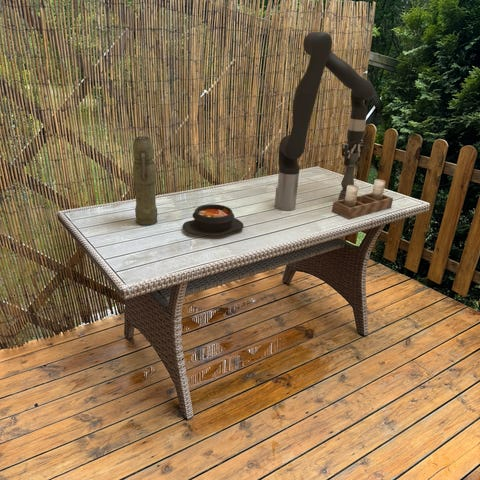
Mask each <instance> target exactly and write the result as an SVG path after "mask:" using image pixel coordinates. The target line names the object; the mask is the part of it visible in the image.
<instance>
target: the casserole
mask: <svg viewBox="0 0 480 480" xmlns="http://www.w3.org/2000/svg"><path fill="white" fill-rule="evenodd" d="M192 218H193V219H192V220H187V221H184V223H183V224H182V229H183V230H184V231H185V232H186V233H189V234H194V235H206V236H223V235H227V234H230V233H232V232H235V231H239V230H242V229H244V223H243V222H242V221H241V220H239V219H237V218H235V214H234V212H233V210H232V209H231V207H229V206H226V205H222V204H214V203H213V204H212V203H211V204H203V205H200V206H197V207H196V208H195V210H194V211H193V213H192Z"/></svg>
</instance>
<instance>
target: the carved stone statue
mask: <svg viewBox="0 0 480 480" xmlns="http://www.w3.org/2000/svg"><path fill="white" fill-rule="evenodd" d="M132 156H133V157H132V158H133V159H134V160H133V166H132V180H133V183H134V189H135V190H134V191H135V193H134V194H135V208H134V211H135V219H136V220H135V222H136V224H137V225H139V226H142V227H145V226H146V227H148V226H154V225H156V224H157V223H158V208H157V202H156V201H157V200H156V182H157V180H156V179H157V177H156V176H157V175H156V172H157V171H156V166H155V163H154V146H153V143H152V140H151V138H150V137H147V136H137V137H135V138H134V140H133V143H132Z"/></svg>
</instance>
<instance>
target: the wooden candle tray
mask: <svg viewBox="0 0 480 480" xmlns="http://www.w3.org/2000/svg"><path fill="white" fill-rule="evenodd" d="M386 182H387V181H386V180H384V179H380V178H377V179H374V182H373V186H372V192H369V193H365V194H361V195H358V191H359V186H357V185H355V184H354V185H348V186H347V190H346V196H345V199H343V200H338V199H337V200H335V201H333V202H332V208H331V212H332V213H334V214H336V215H338V216H341V217H342V218H344V219H347V220H352V219H355V218H359V217H362V216H367V215H371V214H374V213H377V212H381V211H385V210H389V209H391V208H392V205H393V201H394V198H393V197H391V196H388V195H386V194H384V191H385V187H386V186H385V185H386Z"/></svg>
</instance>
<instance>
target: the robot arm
mask: <svg viewBox="0 0 480 480" xmlns="http://www.w3.org/2000/svg"><path fill="white" fill-rule="evenodd" d="M302 46H303V49H304V52H305V54H307V55H308V56H310V58H309V62H308V65H307V69H306V71H305V72H304V74H303V76H302V78H301V79H300V81H299V82H298V85H297V86H296V89H295V92H294V95H293V100H292V109H291V111H292V125H291V131H290V133H289V134H287V135H284V136H283V137H282V138H281V140H280V141H279V146H278V161H277V163H278V176H277V177H278V179H277V187H275V196H274V197H275V199H274V208H276V209H278V210H280V211H286V212H287V211H293V210H295V209H296V205H297V197H298V196H297V195H298V186H299V176H300V169H301V168H300V165H299V162H298V159H299V158H302V157H301V156H302V155H303V154H304V152H305V149H306V143H307V137H308V131H309V126H310V122H311V120H312V119H311V118H312V115H313V112H314V108H315V105H316V100H317V99H318V98H317V97H318V92H319V88H320V84H321V82H322V79H323V74H324V70H325V68H326V69H328V70H329V71H330V72H331V73H332V74H333V76H335V78H337V79H338V80H339V82H341V83H342V84H343V86H345V88H348V89H350V102H351V111H350V116H349V117H350V118H349V121H348V122H349V123H348V128H347V133H346V139H347V142H346V143H342V144H341V157H344V161H343V165H344V166H345V165H346V166H348V165H349V159H350V158H349V157H350V155H351V154H352V153H353V151H355V152H359V155H358V160H357V161H356V163H355V164H356V165H358V162H359V157H360V156H362V155H364V154H363V153H364V151H365V147H366V142H365V141H363V139H364V135H365V131H366V126H367V125H366V124H367V123H366V122H367V115H368V107H367V106H366V105H365V101H369V100H371V99H373V96H374V95H375V89H374V86H373V84H371V82H370V81H368V79H367V80H366V79H365V78H364V77H362V76H361V75H360V74H359V73H358V72H357V71H356V70H355V69H354V68H353V66H351V65H350V64H349V63H348V62H346V61H345V60H343V59H342V58H340V56H338V55H336V54H335V53H333V51H332V47H333V39H332V35H330V33H328V32H326V31H325V32H324V31H311V32H309V33H307V34H306V35H305V37H304V39H303V44H302ZM347 153H349V154H348V155H347ZM346 166H345V167H346Z"/></svg>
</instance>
